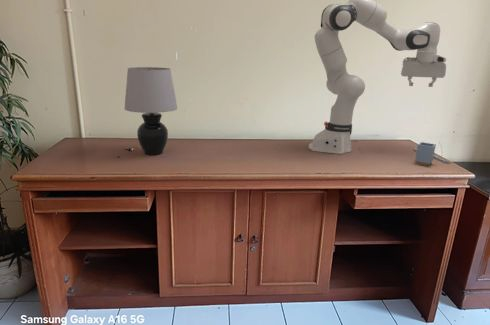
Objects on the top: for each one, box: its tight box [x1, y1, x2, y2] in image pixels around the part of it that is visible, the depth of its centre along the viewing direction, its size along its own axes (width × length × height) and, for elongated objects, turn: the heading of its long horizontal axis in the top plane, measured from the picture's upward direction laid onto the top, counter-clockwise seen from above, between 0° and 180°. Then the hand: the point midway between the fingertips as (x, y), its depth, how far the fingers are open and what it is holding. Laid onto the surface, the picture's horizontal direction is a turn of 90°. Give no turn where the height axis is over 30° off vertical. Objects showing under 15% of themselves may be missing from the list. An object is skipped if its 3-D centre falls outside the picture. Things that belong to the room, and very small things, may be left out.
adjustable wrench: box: [412, 146, 451, 165], centre depth 182 cm, size 25×6×2 cm, turn 5°
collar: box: [414, 141, 437, 164], centre depth 168 cm, size 6×6×8 cm
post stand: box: [414, 160, 433, 168], centre depth 168 cm, size 6×6×6 cm
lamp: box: [124, 66, 178, 157], centre depth 167 cm, size 24×24×40 cm
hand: (420, 86), depth 179 cm, fingers open, 8 cm apart
